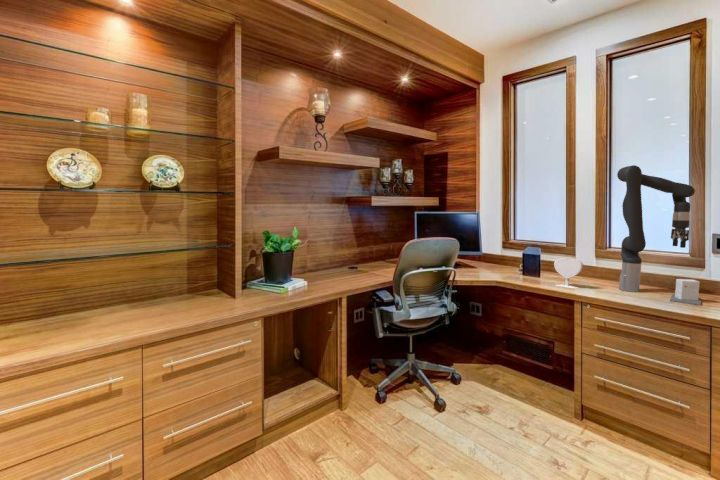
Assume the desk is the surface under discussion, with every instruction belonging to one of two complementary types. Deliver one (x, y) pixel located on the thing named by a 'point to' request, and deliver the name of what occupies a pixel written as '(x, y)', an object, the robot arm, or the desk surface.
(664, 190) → the robot arm
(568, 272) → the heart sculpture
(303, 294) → the desk surface
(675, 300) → the mat
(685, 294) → the small box
